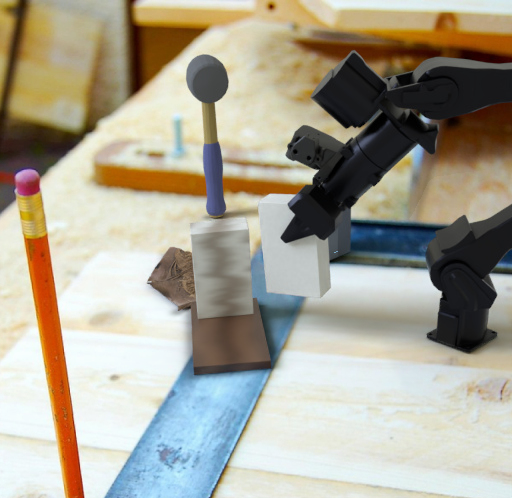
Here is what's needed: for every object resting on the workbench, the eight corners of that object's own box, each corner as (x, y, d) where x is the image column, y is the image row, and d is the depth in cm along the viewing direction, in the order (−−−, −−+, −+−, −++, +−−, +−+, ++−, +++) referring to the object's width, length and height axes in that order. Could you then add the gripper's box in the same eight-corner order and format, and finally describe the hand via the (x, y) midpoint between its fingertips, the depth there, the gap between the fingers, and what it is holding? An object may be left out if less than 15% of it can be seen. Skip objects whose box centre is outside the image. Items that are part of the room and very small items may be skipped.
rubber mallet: (195, 208, 158) (182, 54, 143) (231, 204, 157) (222, 49, 143) (200, 229, 147) (186, 64, 132) (239, 224, 147) (229, 58, 132)
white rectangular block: (331, 288, 104) (325, 195, 98) (320, 298, 101) (314, 204, 95) (277, 282, 108) (269, 193, 102) (266, 292, 106) (257, 202, 100)
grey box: (350, 251, 129) (351, 200, 125) (325, 262, 126) (325, 210, 122) (322, 243, 134) (322, 193, 129) (297, 253, 131) (296, 202, 127)
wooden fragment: (217, 306, 116) (217, 300, 116) (145, 313, 117) (145, 307, 116) (208, 245, 138) (208, 240, 138) (148, 251, 139) (148, 246, 139)
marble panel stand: (257, 304, 116) (252, 214, 109) (271, 368, 99) (267, 266, 92) (191, 310, 116) (182, 221, 109) (194, 374, 100) (184, 274, 93)
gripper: (346, 87, 98) (268, 170, 108) (303, 123, 84) (218, 215, 94) (407, 149, 98) (323, 226, 109) (374, 195, 84) (281, 279, 95)
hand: (287, 234), depth 101 cm, fingers closed on white rectangular block, 4 cm apart
